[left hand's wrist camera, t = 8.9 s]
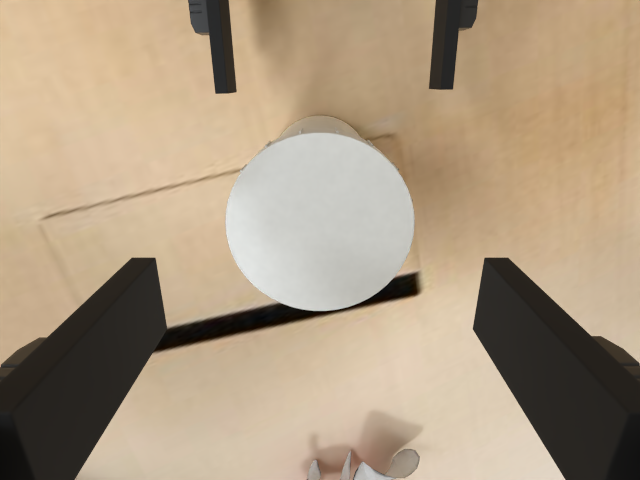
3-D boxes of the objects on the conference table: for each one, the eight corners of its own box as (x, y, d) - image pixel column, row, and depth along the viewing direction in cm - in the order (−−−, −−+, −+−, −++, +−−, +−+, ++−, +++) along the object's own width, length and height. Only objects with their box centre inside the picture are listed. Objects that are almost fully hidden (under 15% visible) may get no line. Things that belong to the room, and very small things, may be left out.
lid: (210, 146, 20) (198, 153, 18) (395, 108, 19) (403, 111, 17) (257, 305, 23) (251, 324, 21) (416, 276, 22) (425, 294, 21)
